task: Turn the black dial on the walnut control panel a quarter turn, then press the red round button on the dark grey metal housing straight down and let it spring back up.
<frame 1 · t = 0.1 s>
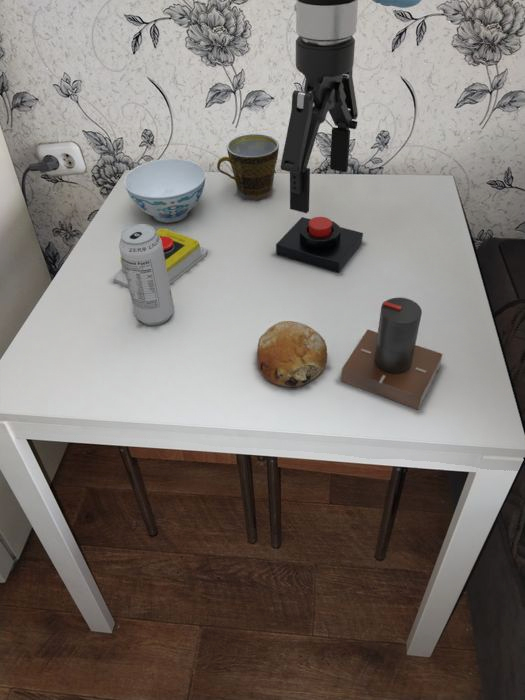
hand: (320, 189, 89), 15 cm above the table, tool pointing down, fingers open, 13 cm apart
button: (320, 227, 101), point 4 cm above the table, slide at 0.1 cm
bread roll: (291, 365, 84), on the table
ceramic cup: (249, 195, 119), on the table
energy drink can: (155, 316, 93), on the table
dial: (397, 335, 77), point 7 cm above the table, hinge at 0.0°
emergency button: (161, 267, 102), on the table
chinaware: (170, 214, 115), on the table
dial panel: (390, 373, 82), on the table
button box: (319, 249, 104), on the table
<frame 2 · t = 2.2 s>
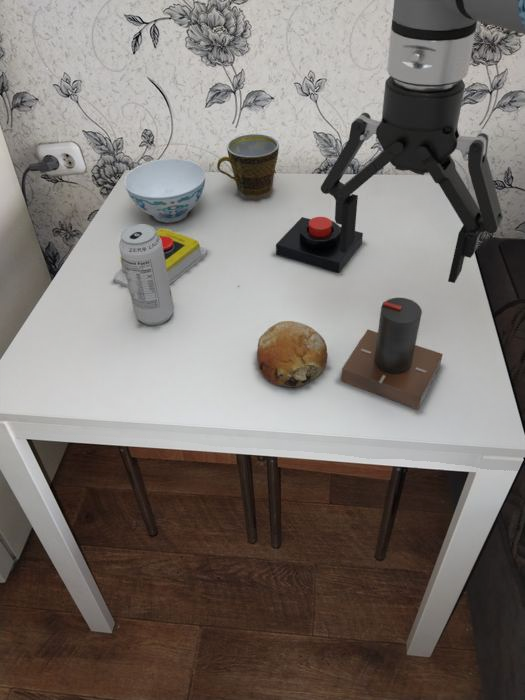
hand: (398, 261, 71), 17 cm above the table, tool pointing down, fingers open, 13 cm apart
nothing on the table moved.
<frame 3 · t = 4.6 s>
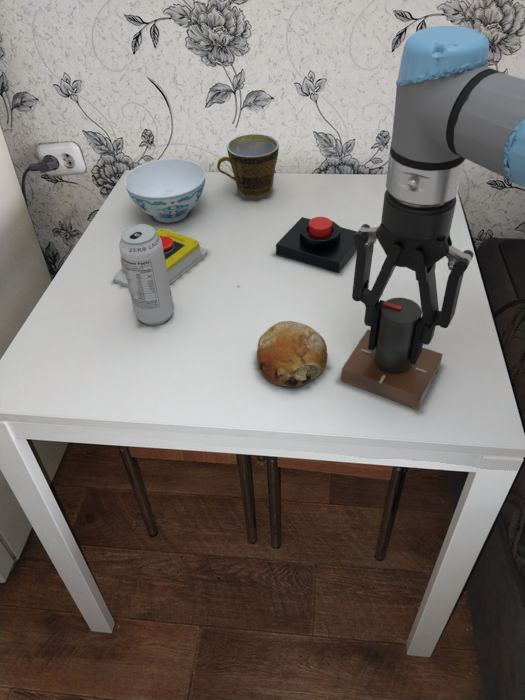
hand: (394, 350, 78), 5 cm above the table, tool pointing down, fingers closed on dial, 5 cm apart
dial: (397, 335, 77), point 7 cm above the table, hinge at 0.1°, touching gripper
everything else where it was.
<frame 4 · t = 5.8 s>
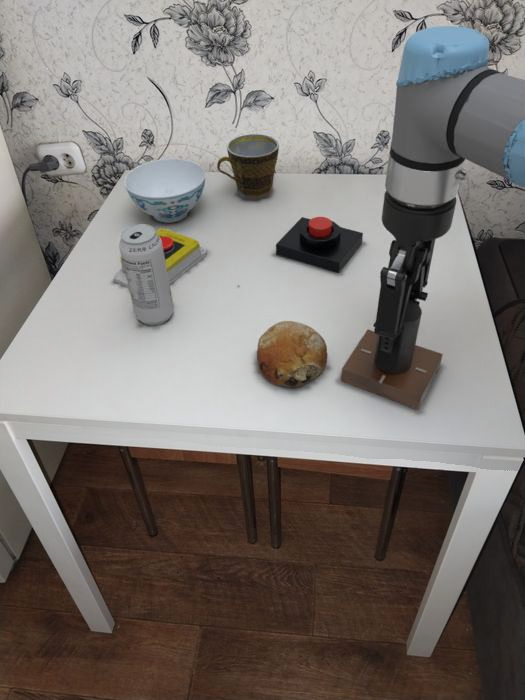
hand: (394, 350, 79), 5 cm above the table, tool pointing down, fingers closed on dial, 5 cm apart
dial: (397, 335, 77), point 7 cm above the table, hinge at 89.8°, touching gripper
everything else where it was.
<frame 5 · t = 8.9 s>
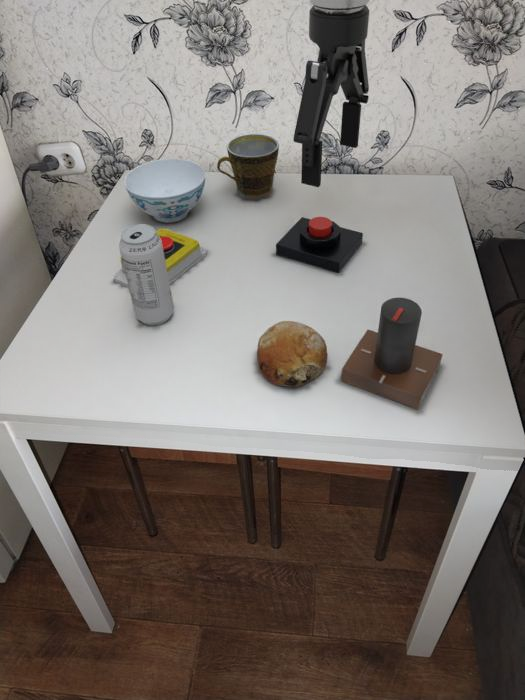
hand: (330, 164, 89), 18 cm above the table, tool pointing down, fingers open, 13 cm apart
dial: (397, 335, 77), point 7 cm above the table, hinge at 89.7°
everything else where it was.
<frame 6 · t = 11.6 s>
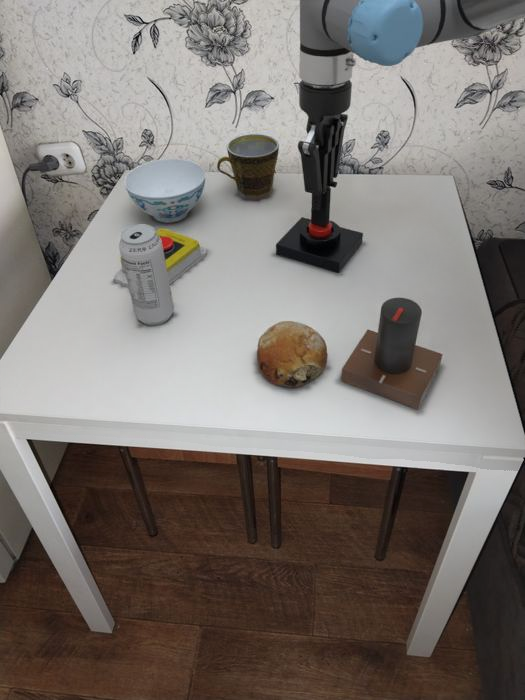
hand: (320, 223, 101), 5 cm above the table, tool pointing down, fingers closed
button: (320, 229, 101), point 4 cm above the table, slide at -0.3 cm, touching gripper
everything else where it was.
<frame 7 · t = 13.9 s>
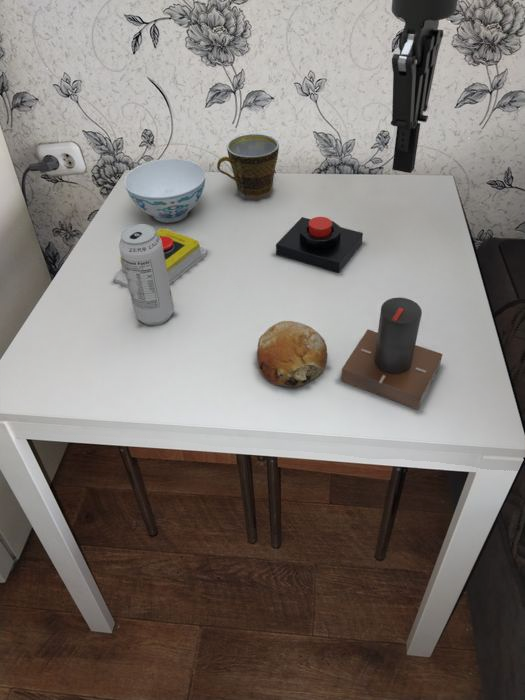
hand: (403, 169, 84), 19 cm above the table, tool pointing down, fingers closed
button: (320, 227, 101), point 4 cm above the table, slide at 0.1 cm
everything else where it was.
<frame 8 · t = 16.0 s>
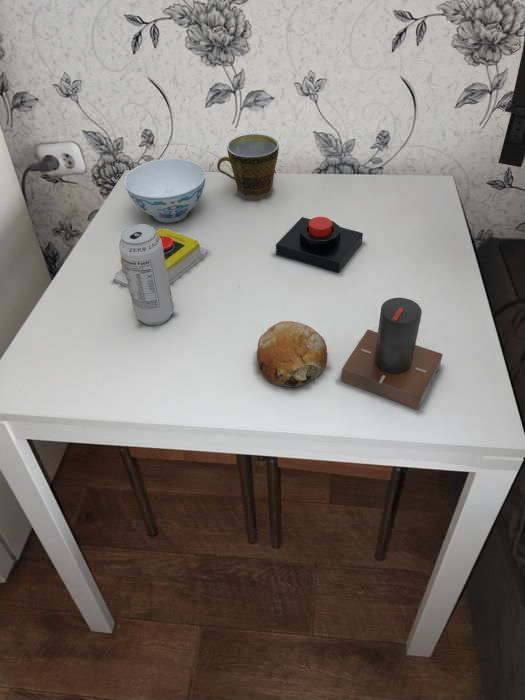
hand: (510, 162, 74), 24 cm above the table, tool pointing down, fingers closed
nothing on the table moved.
at the end: dial at +90° (first picture: +0°); button pushed in 1.0 cm at the most during the clip, back to where it started at the end; button slide at 0.1 cm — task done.
